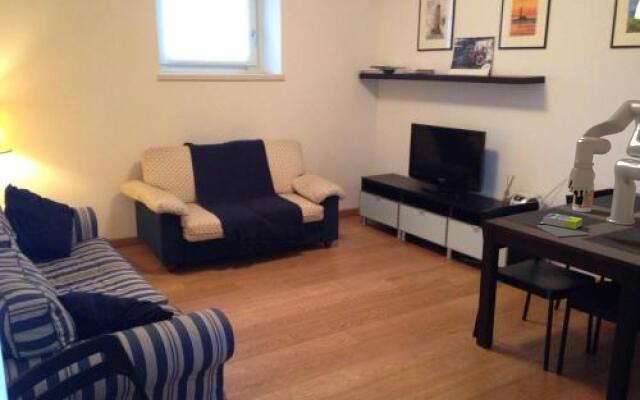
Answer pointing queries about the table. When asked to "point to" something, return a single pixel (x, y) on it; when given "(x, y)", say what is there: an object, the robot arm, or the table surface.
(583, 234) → the mat
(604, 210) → the table surface
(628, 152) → the robot arm
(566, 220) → the box
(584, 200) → the fruit juice
